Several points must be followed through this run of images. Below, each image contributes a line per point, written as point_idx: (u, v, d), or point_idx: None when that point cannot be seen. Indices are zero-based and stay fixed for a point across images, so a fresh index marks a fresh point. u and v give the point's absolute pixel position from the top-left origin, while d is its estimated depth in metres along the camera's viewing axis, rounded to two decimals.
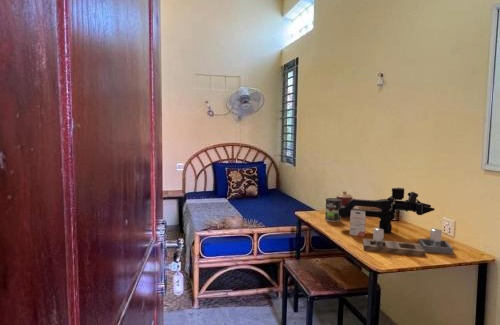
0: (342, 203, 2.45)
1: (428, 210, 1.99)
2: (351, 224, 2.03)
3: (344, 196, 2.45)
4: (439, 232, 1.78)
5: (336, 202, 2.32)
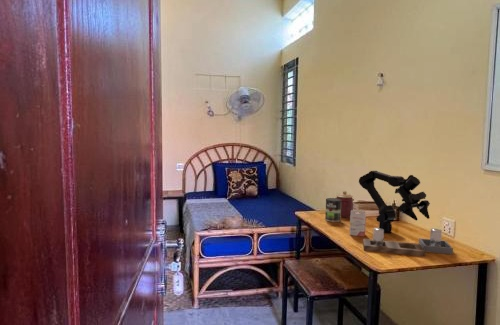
0: (342, 203, 2.45)
1: (411, 215, 1.87)
2: (351, 224, 2.03)
3: (344, 196, 2.45)
4: (439, 232, 1.78)
5: (336, 202, 2.32)
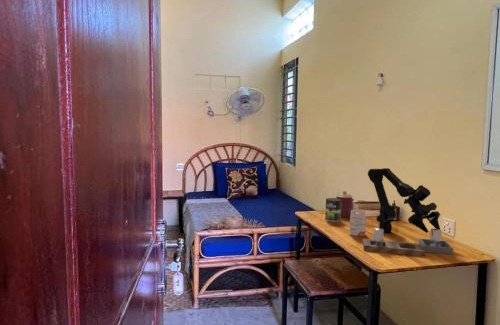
0: (342, 203, 2.45)
1: (421, 227, 1.82)
2: (351, 224, 2.03)
3: (344, 196, 2.45)
4: (439, 232, 1.78)
5: (336, 202, 2.32)
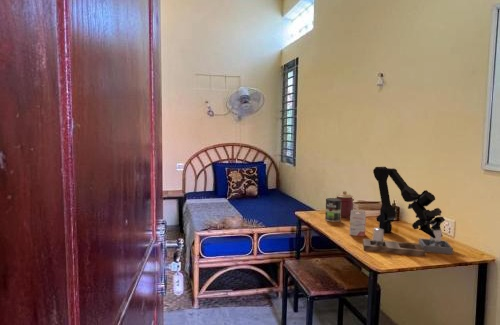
0: (342, 203, 2.45)
1: (428, 233, 1.80)
2: (351, 224, 2.03)
3: (344, 196, 2.45)
4: (439, 232, 1.78)
5: (336, 202, 2.32)
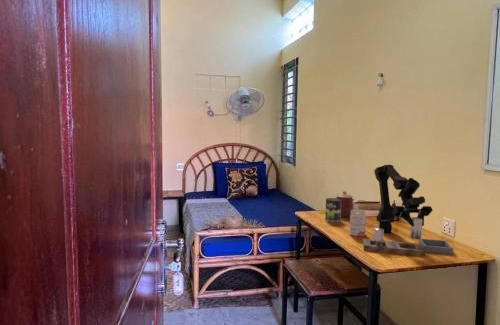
0: (342, 203, 2.45)
1: (407, 220, 1.77)
2: (351, 224, 2.03)
3: (344, 196, 2.45)
4: (418, 220, 1.74)
5: (336, 202, 2.32)
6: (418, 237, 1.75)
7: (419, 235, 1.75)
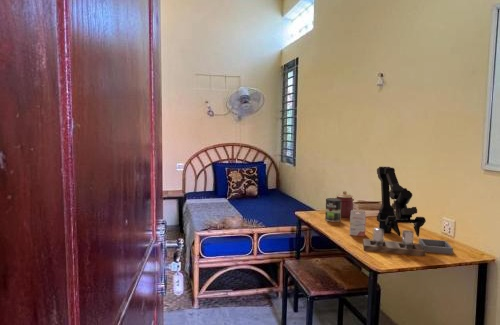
0: (342, 203, 2.45)
1: (395, 230, 1.78)
2: (351, 224, 2.03)
3: (344, 196, 2.45)
4: (408, 234, 1.74)
5: (336, 202, 2.32)
6: None
7: (410, 248, 1.75)
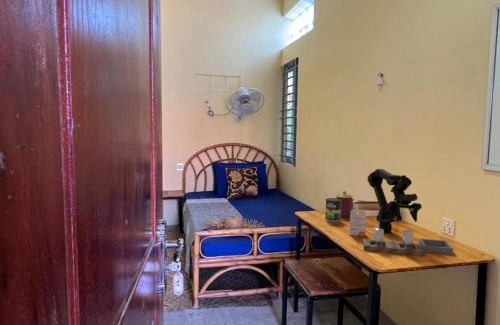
0: (342, 203, 2.45)
1: (396, 215, 1.86)
2: (351, 224, 2.03)
3: (344, 196, 2.45)
4: (408, 234, 1.74)
5: (336, 202, 2.32)
6: None
7: (410, 248, 1.75)
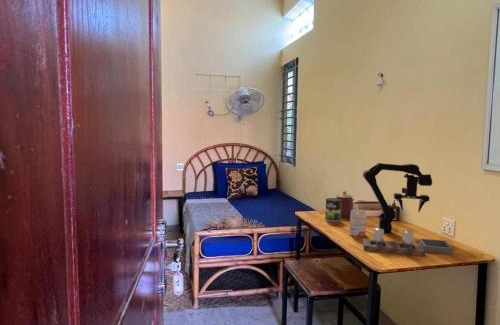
0: (342, 203, 2.45)
1: None
2: (351, 224, 2.03)
3: (344, 196, 2.45)
4: (408, 234, 1.74)
5: (336, 202, 2.32)
6: None
7: (410, 248, 1.75)
